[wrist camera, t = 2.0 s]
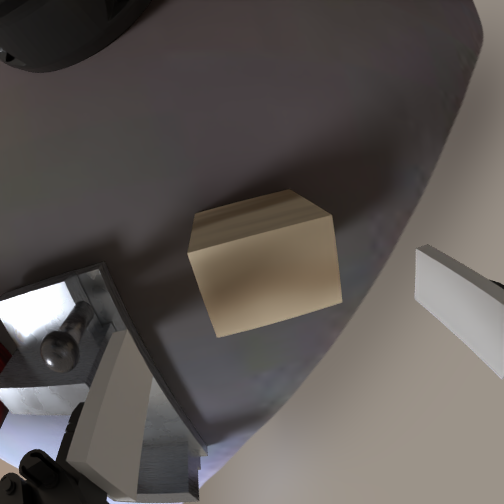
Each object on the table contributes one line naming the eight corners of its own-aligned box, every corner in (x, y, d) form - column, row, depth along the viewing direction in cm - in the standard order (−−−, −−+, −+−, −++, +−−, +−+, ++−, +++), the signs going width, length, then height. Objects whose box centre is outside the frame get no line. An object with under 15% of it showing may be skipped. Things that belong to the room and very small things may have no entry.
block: (195, 213, 21) (187, 253, 13) (289, 188, 21) (331, 214, 14) (214, 275, 23) (217, 337, 15) (301, 251, 23) (342, 302, 16)
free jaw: (-2, 295, 19) (-50, 345, 11) (93, 264, 19) (44, 325, 12) (38, 364, 22) (8, 422, 14) (134, 349, 22) (115, 424, 15)
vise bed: (3, 294, 20) (-44, 343, 13) (104, 261, 21) (60, 320, 13) (119, 453, 30) (112, 503, 22) (207, 446, 31) (211, 503, 23)
